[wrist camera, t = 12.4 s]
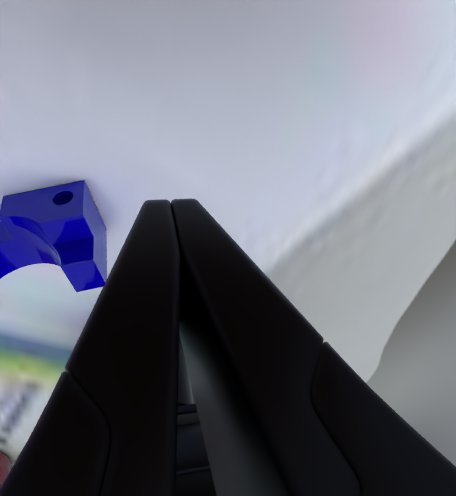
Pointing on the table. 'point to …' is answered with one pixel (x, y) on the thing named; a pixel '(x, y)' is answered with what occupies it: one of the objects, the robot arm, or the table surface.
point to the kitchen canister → (4, 467)
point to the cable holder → (55, 233)
